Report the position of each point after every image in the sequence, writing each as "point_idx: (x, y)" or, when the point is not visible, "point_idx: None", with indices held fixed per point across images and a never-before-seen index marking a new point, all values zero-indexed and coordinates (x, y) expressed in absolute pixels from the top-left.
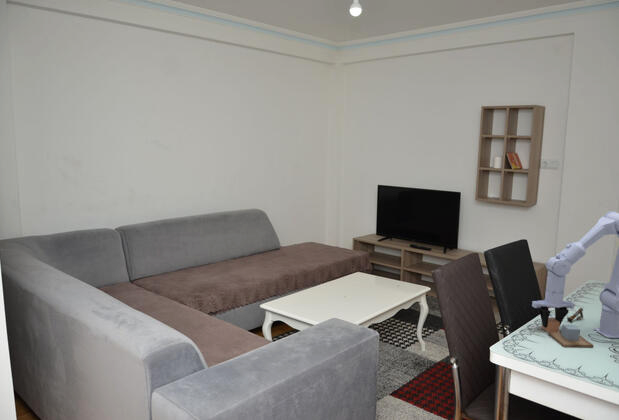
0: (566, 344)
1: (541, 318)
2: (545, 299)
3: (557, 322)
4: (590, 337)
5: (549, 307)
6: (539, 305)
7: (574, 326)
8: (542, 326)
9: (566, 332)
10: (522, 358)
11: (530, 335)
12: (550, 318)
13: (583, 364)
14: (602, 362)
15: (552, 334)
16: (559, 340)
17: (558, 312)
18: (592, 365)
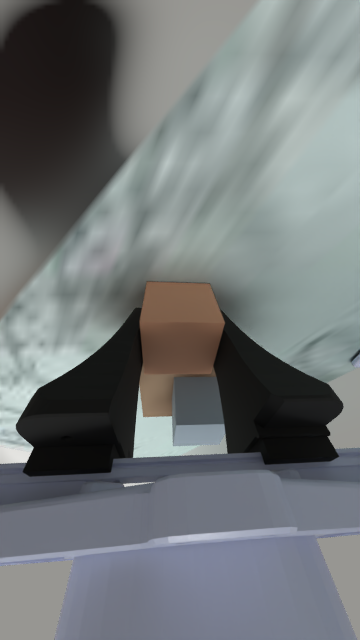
0: (150, 416)
1: (118, 334)
2: (56, 633)
3: (196, 372)
4: (296, 358)
5: (144, 466)
6: (13, 498)
7: (219, 432)
8: (145, 290)
9: (173, 420)
10: (12, 442)
11: (55, 353)
12: (190, 332)
13: (144, 445)
14: None
15: (143, 372)
16: (143, 402)
17: (235, 405)
18: (160, 446)
